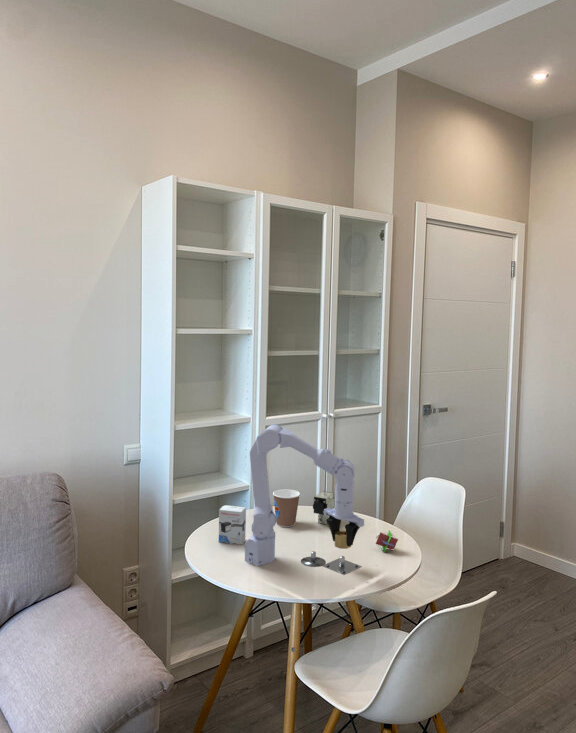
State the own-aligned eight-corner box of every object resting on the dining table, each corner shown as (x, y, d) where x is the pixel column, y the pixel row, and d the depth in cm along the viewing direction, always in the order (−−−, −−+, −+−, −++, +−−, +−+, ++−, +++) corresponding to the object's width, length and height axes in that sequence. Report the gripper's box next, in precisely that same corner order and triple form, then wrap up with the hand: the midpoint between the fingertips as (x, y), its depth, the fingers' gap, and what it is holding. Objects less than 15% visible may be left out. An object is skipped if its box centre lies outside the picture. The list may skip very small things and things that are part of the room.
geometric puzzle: (399, 540, 209) (386, 522, 208) (404, 548, 202) (391, 529, 201) (382, 552, 209) (369, 534, 208) (387, 560, 202) (373, 542, 201)
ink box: (217, 542, 209) (218, 509, 208) (222, 537, 214) (223, 504, 213) (241, 545, 207) (242, 511, 206) (245, 539, 212) (246, 507, 211)
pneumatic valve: (311, 526, 227) (312, 495, 226) (323, 517, 237) (324, 487, 236) (325, 528, 224) (326, 497, 223) (336, 519, 235) (337, 489, 234)
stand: (314, 572, 187) (314, 559, 186) (295, 564, 192) (295, 552, 192) (330, 564, 193) (331, 552, 192) (312, 557, 198) (312, 545, 198)
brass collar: (343, 549, 185) (344, 537, 185) (331, 545, 189) (331, 532, 188) (354, 545, 189) (354, 533, 188) (341, 541, 192) (342, 529, 192)
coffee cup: (271, 519, 233) (272, 489, 232) (298, 519, 234) (299, 489, 233) (272, 528, 223) (273, 497, 222) (300, 529, 224) (301, 497, 223)
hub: (344, 578, 183) (344, 565, 183) (321, 568, 189) (322, 556, 189) (362, 569, 190) (362, 557, 189) (339, 560, 196) (340, 548, 195)
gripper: (370, 503, 185) (369, 546, 187) (334, 492, 195) (333, 533, 197) (356, 508, 180) (355, 552, 181) (320, 497, 190) (318, 538, 191)
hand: (342, 542), depth 189 cm, fingers closed on brass collar, 5 cm apart
